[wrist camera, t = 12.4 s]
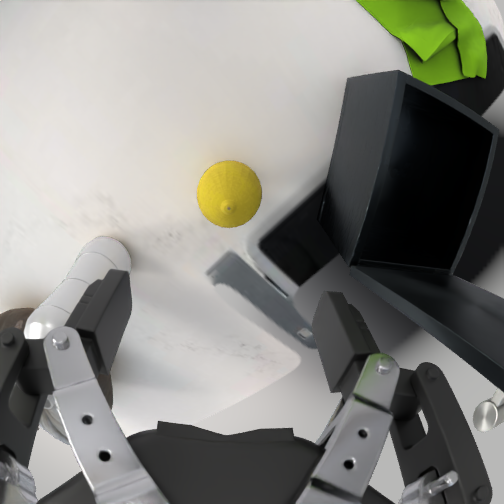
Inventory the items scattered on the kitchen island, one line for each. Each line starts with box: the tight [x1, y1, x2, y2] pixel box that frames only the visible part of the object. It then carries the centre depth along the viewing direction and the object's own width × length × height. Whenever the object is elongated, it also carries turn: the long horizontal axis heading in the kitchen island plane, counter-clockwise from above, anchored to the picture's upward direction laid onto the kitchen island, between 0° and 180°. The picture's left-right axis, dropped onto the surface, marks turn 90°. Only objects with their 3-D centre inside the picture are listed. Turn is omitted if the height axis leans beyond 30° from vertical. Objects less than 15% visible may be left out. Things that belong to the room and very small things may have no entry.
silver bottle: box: [14, 236, 131, 409], centre depth 22 cm, size 6×7×20 cm
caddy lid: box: [350, 266, 504, 432], centre depth 14 cm, size 16×13×5 cm
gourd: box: [0, 308, 113, 445], centre depth 31 cm, size 25×25×17 cm
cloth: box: [356, 0, 487, 85], centre depth 17 cm, size 20×22×2 cm
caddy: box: [317, 70, 499, 276], centre depth 23 cm, size 16×13×10 cm
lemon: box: [197, 161, 262, 228], centre depth 24 cm, size 6×6×8 cm
